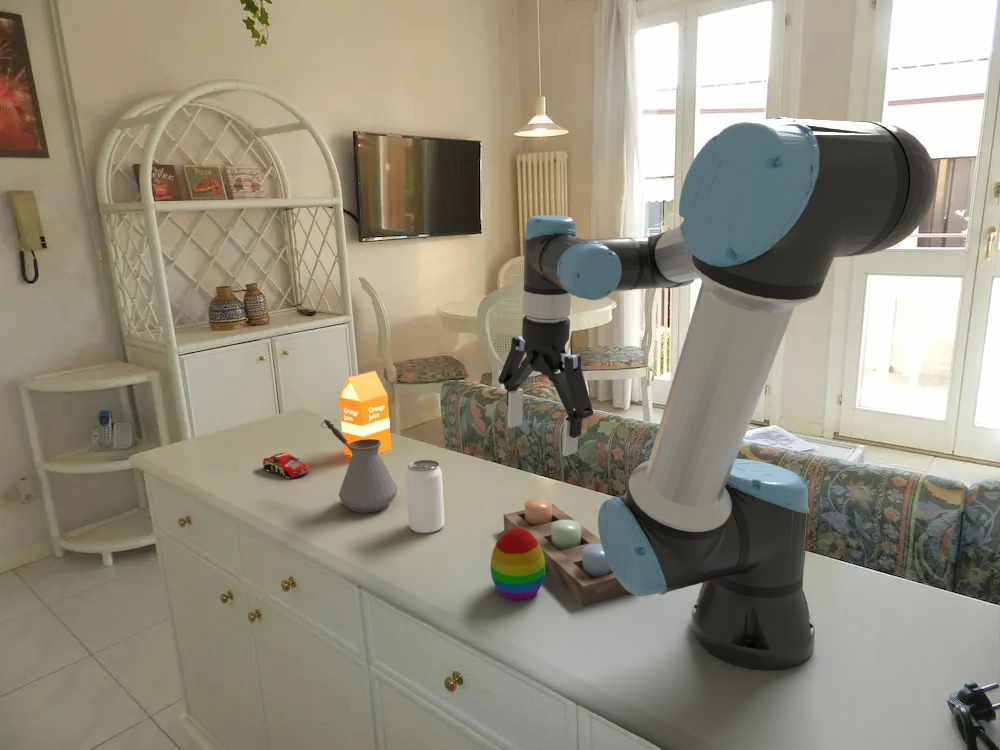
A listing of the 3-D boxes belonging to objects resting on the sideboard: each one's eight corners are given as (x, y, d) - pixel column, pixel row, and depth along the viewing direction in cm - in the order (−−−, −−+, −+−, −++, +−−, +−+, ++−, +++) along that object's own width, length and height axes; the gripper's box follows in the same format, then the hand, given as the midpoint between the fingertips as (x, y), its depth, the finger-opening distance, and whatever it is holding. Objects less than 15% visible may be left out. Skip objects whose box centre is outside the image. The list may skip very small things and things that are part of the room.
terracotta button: (557, 526, 120) (556, 506, 119) (532, 531, 118) (532, 511, 117) (544, 516, 124) (544, 497, 124) (520, 521, 122) (520, 502, 122)
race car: (313, 475, 156) (311, 458, 155) (292, 482, 151) (290, 465, 151) (281, 463, 164) (279, 447, 163) (260, 470, 160) (258, 453, 159)
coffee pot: (409, 504, 136) (404, 432, 133) (359, 522, 129) (353, 446, 126) (353, 478, 152) (348, 413, 149) (305, 493, 144) (299, 424, 141)
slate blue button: (620, 577, 102) (620, 554, 101) (593, 584, 100) (593, 561, 99) (603, 563, 106) (603, 541, 106) (576, 570, 105) (576, 547, 104)
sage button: (586, 549, 111) (586, 528, 110) (560, 556, 109) (560, 534, 108) (571, 537, 115) (571, 517, 115) (546, 543, 114) (546, 523, 113)
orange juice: (391, 450, 170) (386, 372, 166) (364, 460, 163) (358, 379, 159) (370, 445, 175) (365, 368, 170) (343, 454, 168) (336, 375, 164)
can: (438, 535, 122) (435, 471, 120) (404, 533, 123) (400, 470, 121) (448, 520, 128) (445, 459, 126) (415, 518, 130) (412, 458, 127)
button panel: (641, 588, 102) (641, 570, 101) (583, 605, 98) (583, 586, 98) (553, 519, 127) (552, 504, 127) (504, 530, 123) (503, 514, 123)
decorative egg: (505, 572, 108) (503, 513, 106) (553, 582, 105) (552, 522, 103) (482, 598, 101) (479, 535, 99) (533, 609, 98) (531, 545, 95)
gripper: (622, 330, 101) (612, 459, 108) (513, 297, 119) (510, 410, 126) (587, 339, 96) (578, 473, 103) (479, 303, 114) (478, 420, 122)
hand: (541, 439), depth 115 cm, fingers open, 13 cm apart
